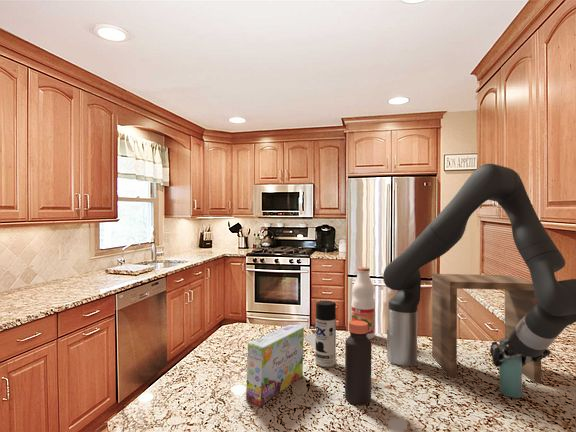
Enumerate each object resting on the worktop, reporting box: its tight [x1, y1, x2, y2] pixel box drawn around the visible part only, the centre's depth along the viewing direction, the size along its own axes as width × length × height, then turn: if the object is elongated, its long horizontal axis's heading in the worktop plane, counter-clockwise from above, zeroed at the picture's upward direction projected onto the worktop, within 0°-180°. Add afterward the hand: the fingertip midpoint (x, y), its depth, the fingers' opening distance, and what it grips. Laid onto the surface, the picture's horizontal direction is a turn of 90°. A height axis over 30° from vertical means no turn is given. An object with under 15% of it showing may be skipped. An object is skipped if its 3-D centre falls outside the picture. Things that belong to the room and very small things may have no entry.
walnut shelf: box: [431, 273, 542, 384], centre depth 111 cm, size 26×16×29 cm, turn 85°
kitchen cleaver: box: [304, 325, 316, 350], centre depth 139 cm, size 24×1×10 cm
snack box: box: [245, 324, 305, 407], centre depth 97 cm, size 21×6×15 cm, turn 148°
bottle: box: [344, 320, 373, 406], centre depth 91 cm, size 7×7×20 cm
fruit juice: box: [351, 266, 376, 340], centre depth 142 cm, size 9×9×28 cm
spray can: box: [314, 300, 337, 368], centre depth 114 cm, size 7×7×20 cm
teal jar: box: [498, 337, 523, 399], centre depth 95 cm, size 5×5×14 cm
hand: (506, 363), depth 97 cm, fingers closed on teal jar, 5 cm apart
